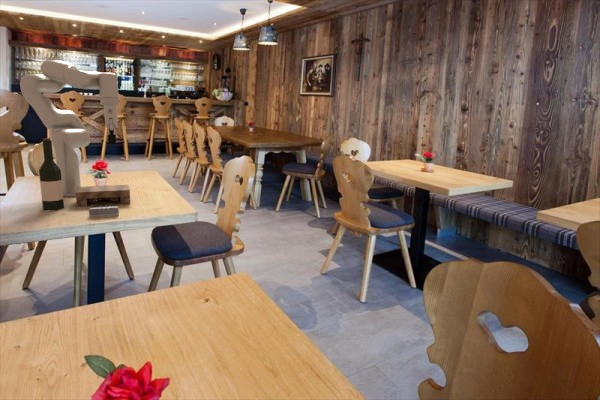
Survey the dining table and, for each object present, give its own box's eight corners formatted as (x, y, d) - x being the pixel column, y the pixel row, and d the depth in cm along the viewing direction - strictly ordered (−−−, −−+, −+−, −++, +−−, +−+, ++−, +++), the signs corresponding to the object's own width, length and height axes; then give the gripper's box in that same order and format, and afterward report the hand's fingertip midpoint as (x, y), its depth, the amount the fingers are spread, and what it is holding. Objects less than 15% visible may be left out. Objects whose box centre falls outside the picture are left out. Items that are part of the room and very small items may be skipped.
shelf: (76, 206, 193) (75, 192, 191) (78, 200, 204) (77, 186, 202) (130, 203, 202) (129, 189, 200) (128, 197, 212) (128, 184, 211)
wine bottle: (49, 211, 184) (41, 140, 177) (38, 208, 188) (30, 138, 181) (68, 208, 191) (62, 138, 184) (57, 204, 195) (51, 137, 188)
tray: (89, 218, 178) (88, 209, 177) (90, 209, 192) (89, 200, 192) (118, 216, 183) (118, 207, 182) (117, 207, 197) (117, 198, 196)
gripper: (119, 102, 188) (121, 145, 193) (118, 101, 202) (120, 141, 207) (100, 102, 185) (103, 145, 190) (100, 100, 199) (103, 141, 204)
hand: (112, 143), depth 198 cm, fingers closed
